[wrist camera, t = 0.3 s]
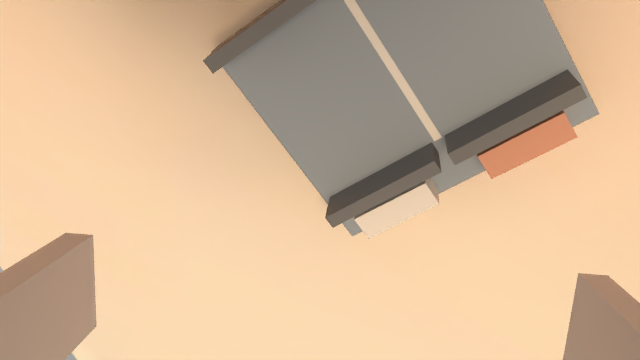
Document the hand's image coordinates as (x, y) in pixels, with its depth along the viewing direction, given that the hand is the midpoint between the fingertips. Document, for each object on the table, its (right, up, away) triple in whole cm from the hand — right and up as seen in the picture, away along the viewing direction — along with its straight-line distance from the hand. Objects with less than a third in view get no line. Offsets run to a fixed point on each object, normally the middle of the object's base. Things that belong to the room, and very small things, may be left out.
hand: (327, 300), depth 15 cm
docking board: (+6, +11, +24) cm, 27 cm away
